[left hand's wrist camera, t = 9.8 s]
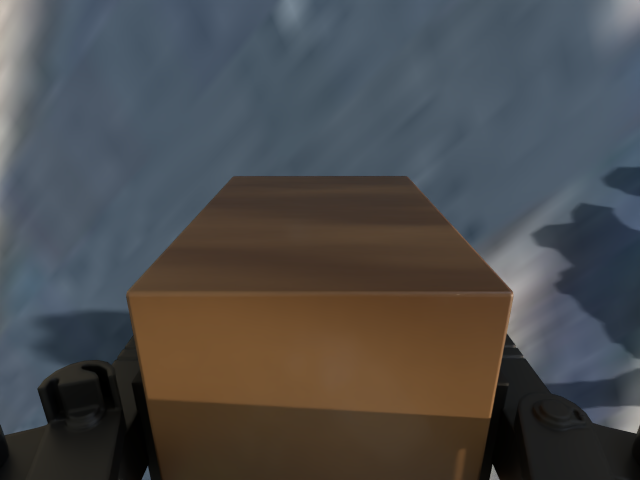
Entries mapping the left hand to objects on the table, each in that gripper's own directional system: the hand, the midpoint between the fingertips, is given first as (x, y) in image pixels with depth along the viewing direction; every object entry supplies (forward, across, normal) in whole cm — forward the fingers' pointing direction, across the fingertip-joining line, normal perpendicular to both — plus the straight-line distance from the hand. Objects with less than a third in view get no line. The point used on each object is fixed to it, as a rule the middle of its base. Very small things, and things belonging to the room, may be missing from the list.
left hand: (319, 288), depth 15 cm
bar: (+1, 0, -13) cm, 13 cm away
